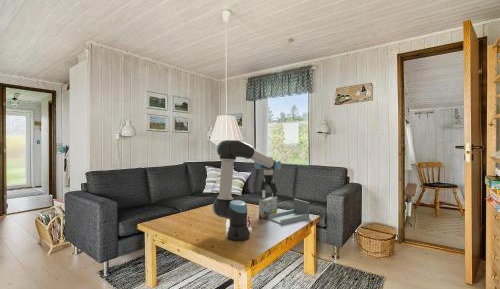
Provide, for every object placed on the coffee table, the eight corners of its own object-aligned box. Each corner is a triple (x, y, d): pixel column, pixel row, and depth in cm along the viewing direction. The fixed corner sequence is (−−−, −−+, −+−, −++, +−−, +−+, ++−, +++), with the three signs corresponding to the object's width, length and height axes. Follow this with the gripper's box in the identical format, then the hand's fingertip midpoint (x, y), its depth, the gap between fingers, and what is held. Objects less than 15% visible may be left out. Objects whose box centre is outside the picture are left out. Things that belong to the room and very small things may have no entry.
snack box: (264, 219, 208) (264, 201, 208) (258, 218, 211) (258, 200, 211) (277, 213, 225) (277, 196, 225) (272, 212, 228) (272, 195, 228)
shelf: (281, 224, 195) (281, 207, 195) (267, 219, 209) (267, 203, 209) (309, 218, 212) (309, 202, 212) (294, 213, 226) (294, 198, 226)
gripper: (281, 175, 209) (281, 201, 210) (263, 172, 230) (263, 195, 231) (274, 176, 205) (274, 202, 206) (256, 173, 226) (256, 196, 226)
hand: (268, 199), depth 218 cm, fingers open, 13 cm apart
